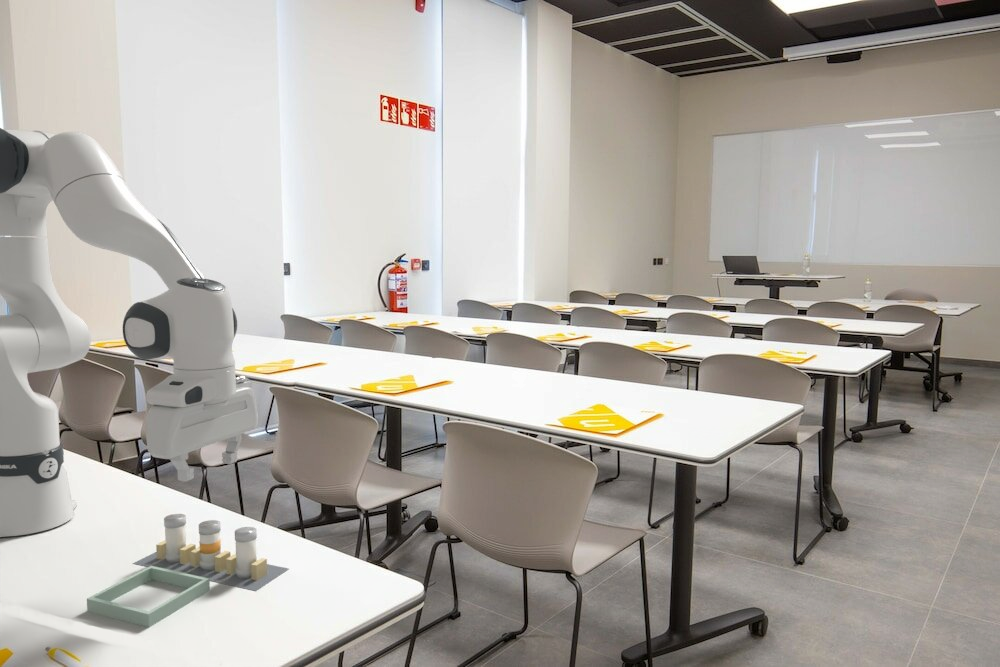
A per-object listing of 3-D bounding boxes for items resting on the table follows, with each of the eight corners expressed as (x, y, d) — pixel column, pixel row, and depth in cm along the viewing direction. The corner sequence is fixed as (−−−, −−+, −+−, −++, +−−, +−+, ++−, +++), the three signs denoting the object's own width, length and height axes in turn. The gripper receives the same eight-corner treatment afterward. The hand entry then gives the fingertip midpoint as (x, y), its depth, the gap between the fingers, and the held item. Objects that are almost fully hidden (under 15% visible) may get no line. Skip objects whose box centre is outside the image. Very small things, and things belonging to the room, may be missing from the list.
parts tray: (87, 619, 100) (86, 598, 100) (151, 584, 111) (151, 565, 110) (149, 635, 96) (148, 614, 96) (210, 597, 107) (209, 578, 106)
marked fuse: (195, 568, 114) (193, 525, 113) (210, 560, 117) (208, 518, 116) (211, 572, 112) (210, 529, 112) (225, 563, 115) (224, 521, 115)
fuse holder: (133, 570, 115) (132, 549, 115) (171, 551, 122) (170, 530, 122) (256, 598, 107) (255, 575, 106) (289, 575, 114) (289, 554, 114)
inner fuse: (161, 560, 116) (159, 519, 115) (176, 553, 119) (174, 512, 118) (176, 564, 115) (175, 522, 114) (191, 556, 118) (190, 515, 117)
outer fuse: (231, 576, 111) (230, 532, 110) (245, 567, 114) (244, 525, 113) (248, 580, 110) (247, 536, 109) (261, 571, 113) (260, 528, 112)
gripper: (235, 372, 122) (238, 451, 123) (136, 394, 103) (141, 488, 104) (266, 374, 119) (268, 455, 121) (170, 398, 100) (175, 493, 102)
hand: (208, 471), depth 112 cm, fingers open, 8 cm apart
